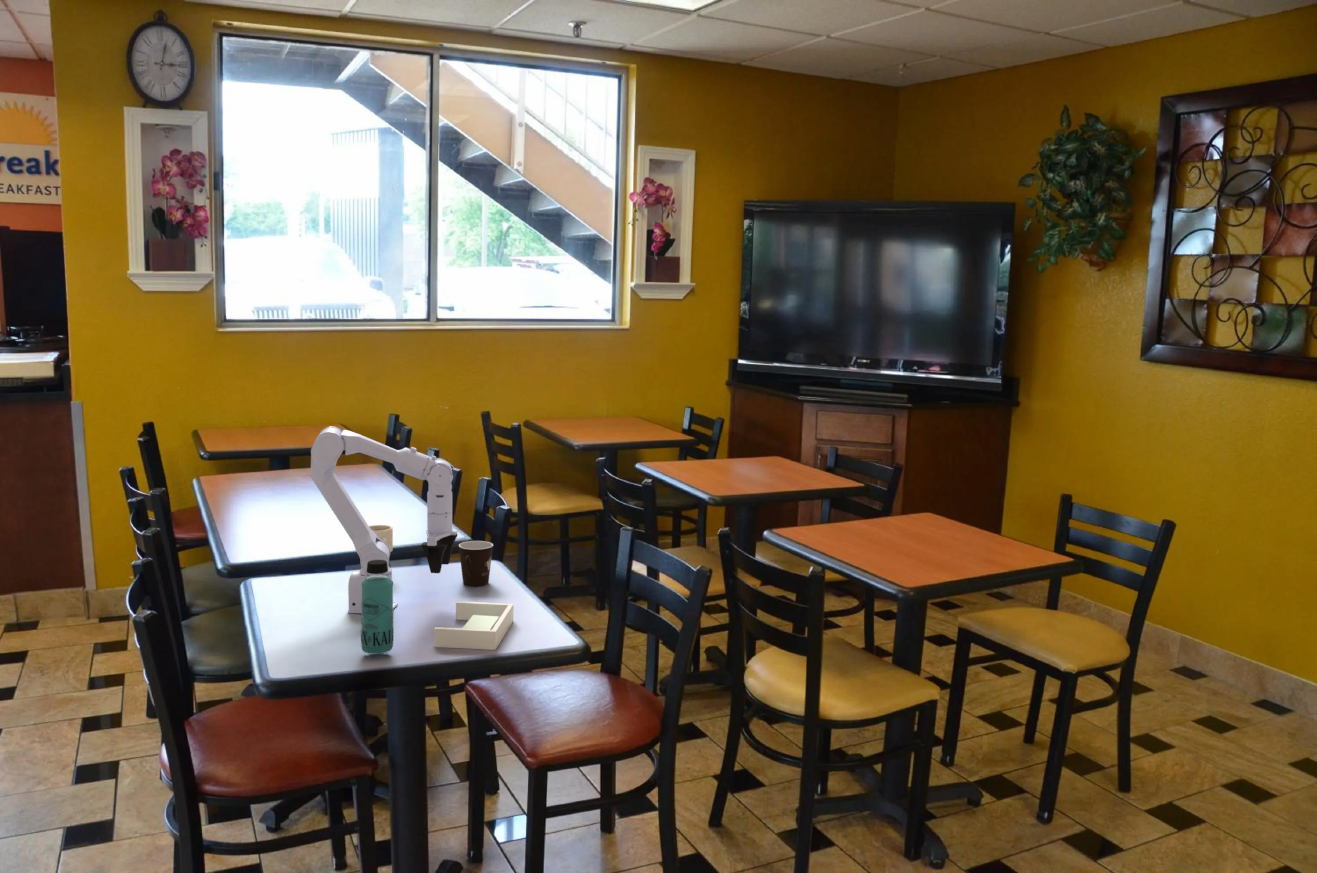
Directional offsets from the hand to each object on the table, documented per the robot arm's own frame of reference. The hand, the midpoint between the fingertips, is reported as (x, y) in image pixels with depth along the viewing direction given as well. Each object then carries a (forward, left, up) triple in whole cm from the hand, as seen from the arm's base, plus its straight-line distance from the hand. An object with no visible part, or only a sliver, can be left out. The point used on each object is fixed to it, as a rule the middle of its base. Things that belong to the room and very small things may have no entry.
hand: (439, 568), depth 243 cm
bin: (+13, -17, -9) cm, 23 cm away
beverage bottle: (-4, -33, -10) cm, 35 cm away
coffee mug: (+3, +19, -10) cm, 21 cm away
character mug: (-22, +22, -10) cm, 33 cm away
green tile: (+14, -17, -10) cm, 24 cm away
